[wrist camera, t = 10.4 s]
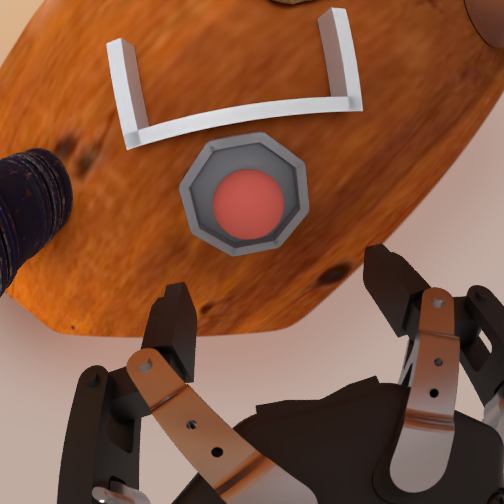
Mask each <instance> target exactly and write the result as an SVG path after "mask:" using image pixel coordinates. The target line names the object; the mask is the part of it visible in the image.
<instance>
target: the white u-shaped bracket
mask: <svg viewBox="0 0 504 504" xmlns="http://www.w3.org/2000/svg"><path fill="white" fill-rule="evenodd" d="M317 21H318V25H319V30H320V35H321V40H322V45H323V50H324V55H325V61H326V67H327V73H328V80H329V86H330V93H331V97H318V98H302V99H290V100H280V101H271V102H263V103H256V104H249V105H243V106H236V107H231V108H225V109H220V110H215V111H210V112H205V113H200V114H196V115H192V116H187V117H183V118H179V119H175V120H172V121H168V122H164V123H161V124H157V125H154V126H150V127H149V123H148V118H147V113H146V109H145V104H144V99H143V94H142V88H141V83H140V78H139V72H138V66H137V60H136V54H135V47H134V46H133V45H131V44H130V43H128V42H127V41H125V40H124V39H122V38H119V39H117V40H114V41H112V42H109V43H107V51H108V58H109V65H110V71H111V77H112V83H113V89H114V94H115V99H116V104H117V109H118V114H119V119H120V123H121V127H122V132H123V136H124V140H125V144H126V148H127V150H128V149H131V148H135V147H138V146H141V145H144V144H148V143H151V142H155V141H158V140H162V139H165V138H169V137H173V136H177V135H181V134H185V133H189V132H193V131H198V130H202V129H207V128H212V127H217V126H222V125H227V124H232V123H238V122H244V121H250V120H257V119H264V118H271V117H279V116H288V115H297V114H309V113H322V112H342V111H363V108H362V98H361V90H360V82H359V75H358V69H357V62H356V57H355V51H354V46H353V40H352V35H351V31H350V26H349V22H348V17H347V13H346V9H342V8H330V9H329V10H328V11H326V12H325V13H324V14H323V15H321V16H320V17H319V18H318V19H317Z"/></svg>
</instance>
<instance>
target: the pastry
mask: <svg viewBox="0 0 504 504" xmlns="http://www.w3.org/2000/svg"><path fill="white" fill-rule="evenodd" d="M273 1H276V2H280V3H288V4H296V3H299V2H303V1H311V0H273Z"/></svg>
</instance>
